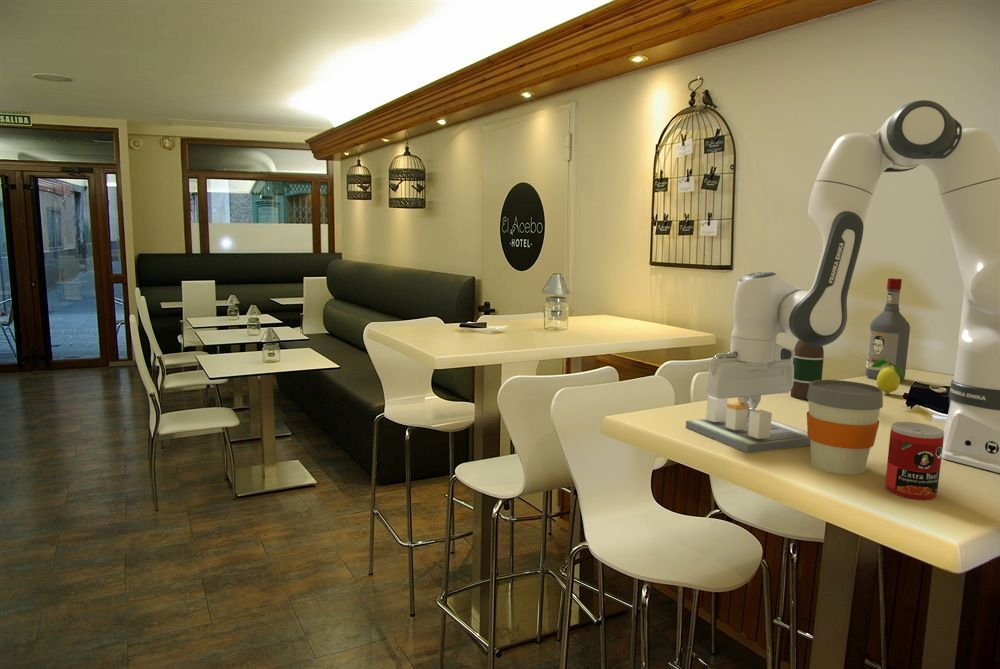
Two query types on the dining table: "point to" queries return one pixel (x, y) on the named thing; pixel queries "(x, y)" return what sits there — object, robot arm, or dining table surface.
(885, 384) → the lemon
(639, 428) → the dining table surface
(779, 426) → the panel
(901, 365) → the liquor
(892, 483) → the canned food
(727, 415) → the block
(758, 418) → the block
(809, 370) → the beer bottle
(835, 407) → the reusable coffee cup
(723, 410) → the block
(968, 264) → the robot arm
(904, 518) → the dining table surface
